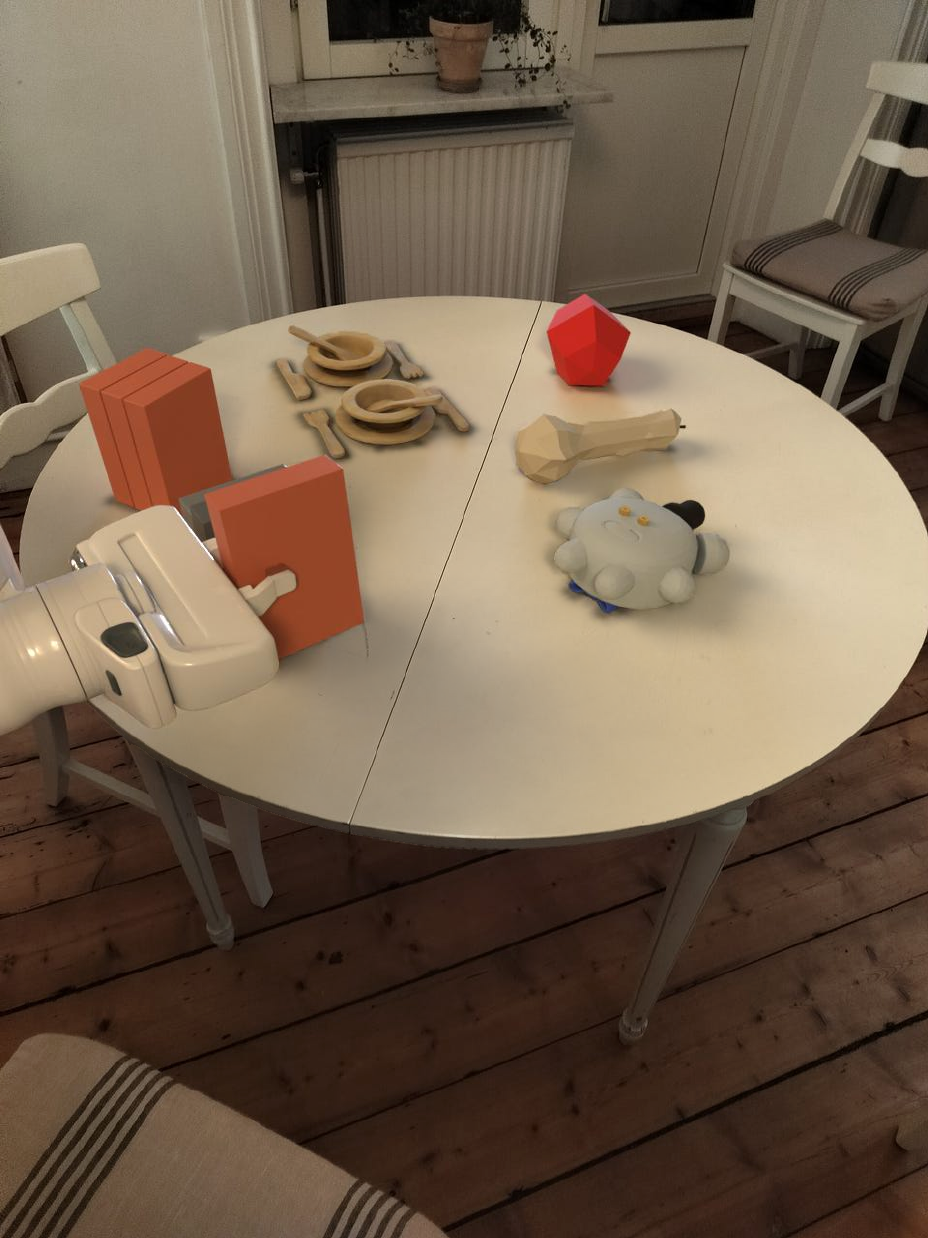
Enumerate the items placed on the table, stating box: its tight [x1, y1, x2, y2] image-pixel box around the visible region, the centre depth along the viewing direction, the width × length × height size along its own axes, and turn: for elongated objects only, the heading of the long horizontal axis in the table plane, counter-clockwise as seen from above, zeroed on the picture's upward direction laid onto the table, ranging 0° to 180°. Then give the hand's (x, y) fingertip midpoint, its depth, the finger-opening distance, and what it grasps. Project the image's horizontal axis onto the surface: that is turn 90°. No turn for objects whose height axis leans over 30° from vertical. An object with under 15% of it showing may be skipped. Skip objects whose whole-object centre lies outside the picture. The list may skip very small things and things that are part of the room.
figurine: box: [553, 487, 731, 614], centre depth 89 cm, size 17×8×20 cm
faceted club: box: [514, 408, 687, 484], centre depth 104 cm, size 9×8×25 cm
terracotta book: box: [204, 454, 365, 661], centre depth 67 cm, size 10×3×15 cm, turn 125°
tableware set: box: [276, 324, 470, 459], centre depth 116 cm, size 30×20×6 cm, turn 24°
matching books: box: [78, 347, 234, 517], centre depth 95 cm, size 10×9×15 cm
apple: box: [546, 293, 632, 387], centre depth 121 cm, size 12×12×15 cm
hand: (278, 560), depth 66 cm, fingers closed on terracotta book, 3 cm apart
